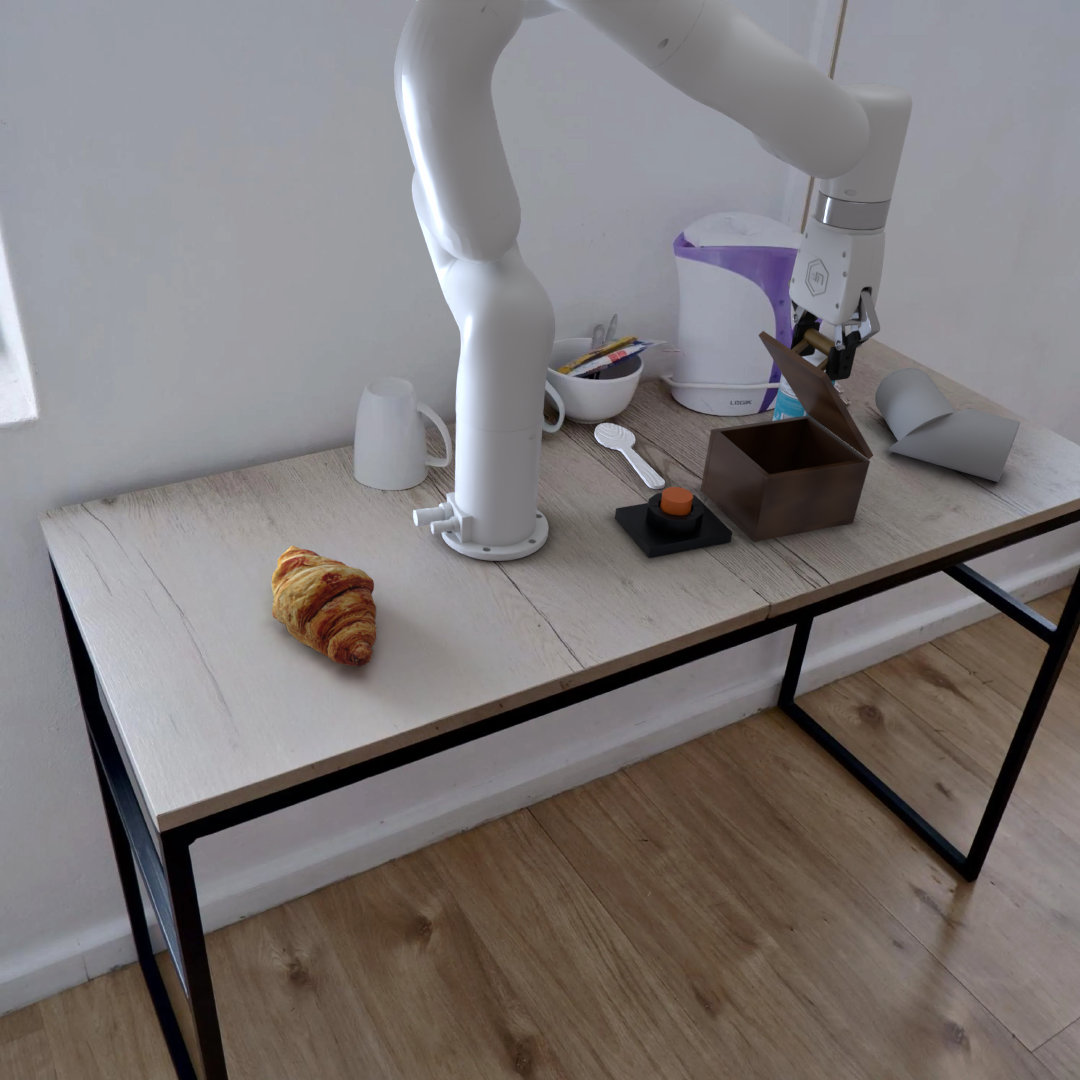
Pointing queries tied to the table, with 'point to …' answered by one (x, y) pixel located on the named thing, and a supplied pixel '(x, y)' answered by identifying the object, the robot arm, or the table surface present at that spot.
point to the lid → (816, 386)
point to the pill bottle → (787, 399)
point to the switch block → (672, 527)
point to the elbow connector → (942, 426)
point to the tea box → (783, 477)
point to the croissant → (325, 605)
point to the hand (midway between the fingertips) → (819, 365)
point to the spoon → (627, 451)
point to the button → (676, 501)
